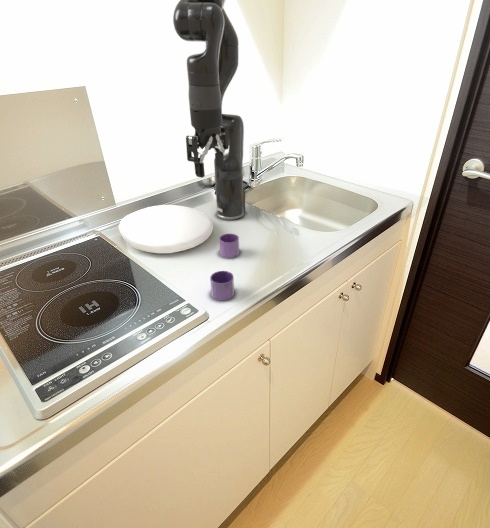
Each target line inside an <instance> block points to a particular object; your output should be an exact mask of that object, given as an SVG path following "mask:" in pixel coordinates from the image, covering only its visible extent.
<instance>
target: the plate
mask: <svg viewBox="0 0 490 528" xmlns="http://www.w3.org/2000/svg"><path fill="white" fill-rule="evenodd" d="M213 229H214V222H213V221H212V220H211V218H210V217H209V216H208V215H207V214H206V213H204V212H202V211H201V210H198V209H196V208H193V207H190V206H185V205H184V206H183V205H178V204H177V205H175V204H160V205H159V204H158V205H153V206H152V205H151V206H147V207H144V208H141V209H139V210H138V209H137V210H136V211H134V212H131V213H129V214H127V215H125V216H124V217H123V218H122V219H121V220H120V222H119V224H118V231H119V233H120V235H121V237H122V239H123V240H124V241H125V242H126V243H127V244H128V245H129V246H131V247H132V248H134V249H137V250H139V251H142V252H146V253H151V254H152V253H154V254H173V253H178V252H182V251H186V250H189V249H193V248H195V247H197V246H200V245H201V244H203V243H205V241H206V240H207V239H208V238H210V236H212V233H213Z"/></svg>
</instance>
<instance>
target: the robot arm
mask: <svg viewBox="0 0 490 528" xmlns="http://www.w3.org/2000/svg"><path fill="white" fill-rule="evenodd" d="M225 3H226V0H179V1H178V3H177V4H176V5H175V7H174V8H175V9H174V11H173V15H172V22H173V23H172V24H173V28H174V30H175V31H174V32H175V33H176V34H177V36H178V37H179V38H180V39H182V40H183V41H186V42H191V43H192V42H196V43H201V42H203V43H205V49H204V51H203V52H199V53H194V54H191V55H189V56H188V57H187V58H186V71H187V83H188V107H189V115H190V116H189V117H190V125H191V126H192V128H193V129H194V135H186V136H185V143H186V146H185V147H186V160H187V162H192V163H193V164H194V173H195V176H196V177H198V178H204V177H205V176H206V175H205V163H204V161H205V157H206V156H207V155H208V152H209V151H210V150H212V149H213V151H214V152H215V153H214V158H213V166H214V167H213V168H214V169H213V170H214V183H215V200H216V215H217V218H219V219H222V220H226V221H227V220H228V221H232V220H233V221H234V220H239V219H241V218H243V217H244V215H245V213H246V190H247V188H249V189H251V188H252V187H251V185H250V186H249V184H247V185H245V186H244V168H243V165H244V164H243V162H244V146H245V145H244V142H245V141H244V140H245V125H244V121H243V118H242V117H241V116H240V115H237V114H230V113H223V101H224V97H225V94H226V91H227V90H228V87H229V86H230V84H231V82H232V81H233V79H234V77H235V75H236V73H237V71H238V68H239V58H240V57H239V52H240V51H239V37H238V34H237V32H236V30H235V28H234V25H233V23H232V22H231V20H230V18H229V16H228V14H227V12H226V10H225V9H224V6H225ZM226 150H228V152H226ZM192 153H193V154H192Z"/></svg>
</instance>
